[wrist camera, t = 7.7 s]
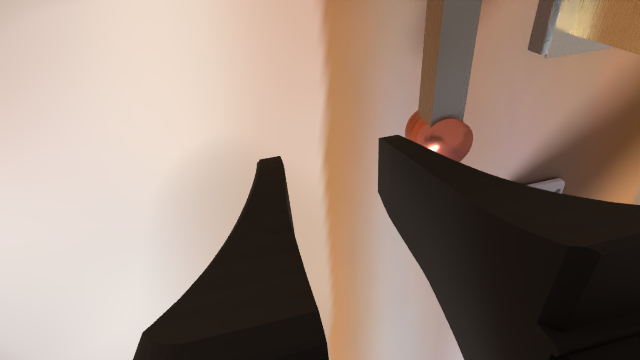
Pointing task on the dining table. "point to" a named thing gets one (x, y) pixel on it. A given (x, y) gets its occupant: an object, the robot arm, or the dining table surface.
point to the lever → (446, 78)
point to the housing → (609, 23)
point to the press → (559, 30)
